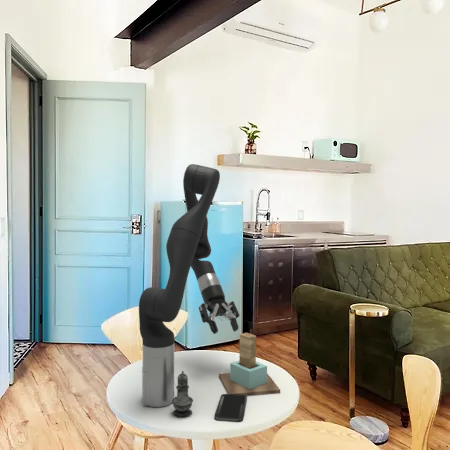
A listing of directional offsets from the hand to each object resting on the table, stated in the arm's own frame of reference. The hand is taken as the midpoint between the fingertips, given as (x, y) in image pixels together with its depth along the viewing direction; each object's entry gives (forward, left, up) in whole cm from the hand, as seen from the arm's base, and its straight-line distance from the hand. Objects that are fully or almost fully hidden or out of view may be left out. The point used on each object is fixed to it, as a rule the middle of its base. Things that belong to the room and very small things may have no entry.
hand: (226, 331), depth 150 cm
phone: (-3, -23, -16) cm, 28 cm away
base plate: (+6, -8, -15) cm, 18 cm away
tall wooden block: (+5, -8, -13) cm, 16 cm away
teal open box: (+6, -8, -15) cm, 18 cm away
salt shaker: (-17, -23, -15) cm, 33 cm away
